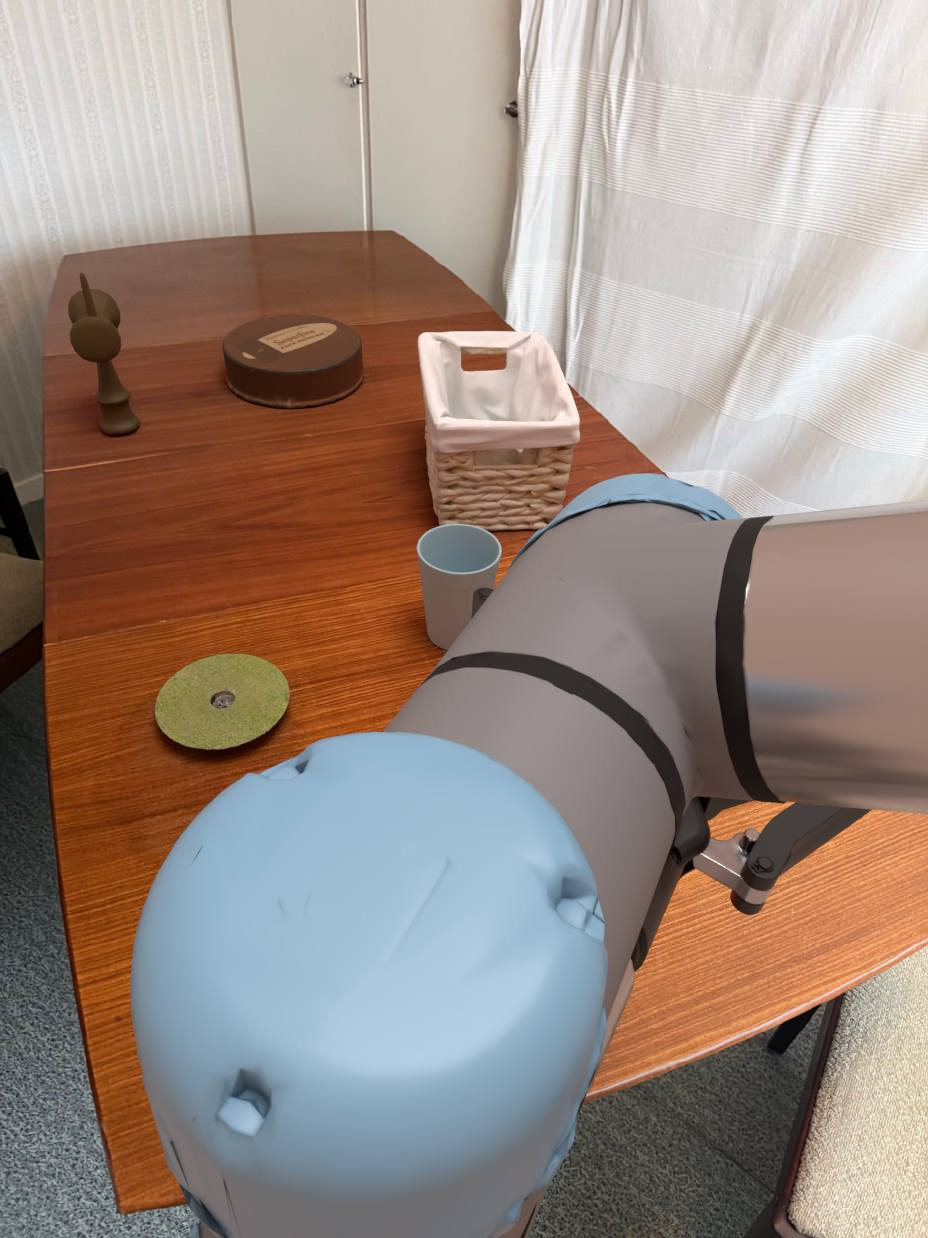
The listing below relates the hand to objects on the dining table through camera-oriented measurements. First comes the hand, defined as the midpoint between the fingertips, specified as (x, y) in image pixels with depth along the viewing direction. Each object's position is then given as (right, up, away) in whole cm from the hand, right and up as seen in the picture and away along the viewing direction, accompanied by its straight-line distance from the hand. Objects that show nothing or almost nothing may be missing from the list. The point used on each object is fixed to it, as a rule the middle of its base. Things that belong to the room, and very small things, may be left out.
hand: (716, 594), depth 43 cm
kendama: (-58, +24, +66) cm, 91 cm away
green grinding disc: (-34, -10, +29) cm, 46 cm away
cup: (-14, -3, +39) cm, 41 cm away
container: (-38, +34, +80) cm, 95 cm away
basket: (-10, +15, +60) cm, 63 cm away
